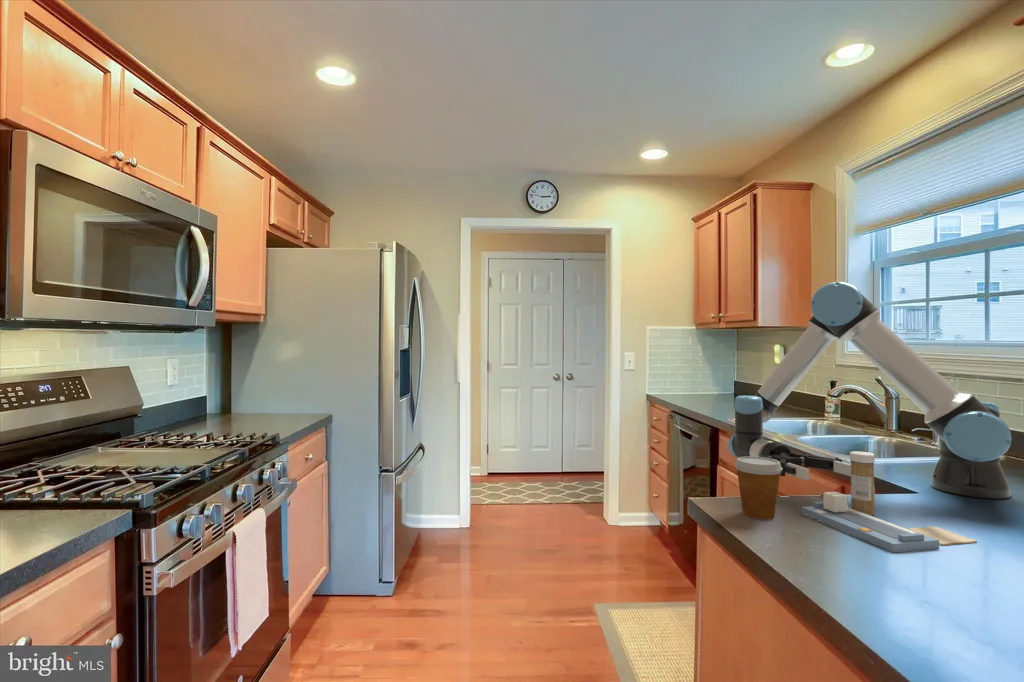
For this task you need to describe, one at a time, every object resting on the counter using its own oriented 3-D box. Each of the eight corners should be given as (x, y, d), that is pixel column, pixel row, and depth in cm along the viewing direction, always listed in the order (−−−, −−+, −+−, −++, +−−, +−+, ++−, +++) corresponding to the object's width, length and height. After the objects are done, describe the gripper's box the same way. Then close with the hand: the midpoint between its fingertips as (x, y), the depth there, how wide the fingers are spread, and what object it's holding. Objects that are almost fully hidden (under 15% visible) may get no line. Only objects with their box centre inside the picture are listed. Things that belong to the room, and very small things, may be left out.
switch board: (839, 511, 115) (839, 499, 115) (939, 548, 93) (938, 534, 93) (801, 513, 113) (801, 502, 113) (893, 552, 91) (893, 538, 91)
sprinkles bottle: (878, 513, 113) (878, 453, 113) (869, 517, 110) (869, 455, 111) (855, 508, 117) (855, 449, 117) (846, 511, 114) (846, 451, 114)
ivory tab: (836, 507, 112) (835, 490, 112) (847, 511, 109) (847, 494, 109) (823, 508, 111) (823, 491, 111) (834, 512, 108) (834, 495, 108)
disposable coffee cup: (726, 508, 116) (726, 456, 116) (766, 507, 117) (766, 455, 117) (749, 522, 107) (749, 465, 107) (792, 521, 107) (792, 464, 108)
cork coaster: (934, 527, 104) (934, 526, 104) (976, 542, 96) (976, 540, 96) (901, 530, 102) (901, 529, 102) (942, 545, 94) (942, 543, 94)
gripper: (810, 466, 144) (876, 486, 124) (731, 470, 140) (786, 491, 119) (809, 440, 145) (876, 455, 124) (731, 443, 140) (786, 459, 119)
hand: (832, 473), depth 121 cm, fingers open, 13 cm apart
